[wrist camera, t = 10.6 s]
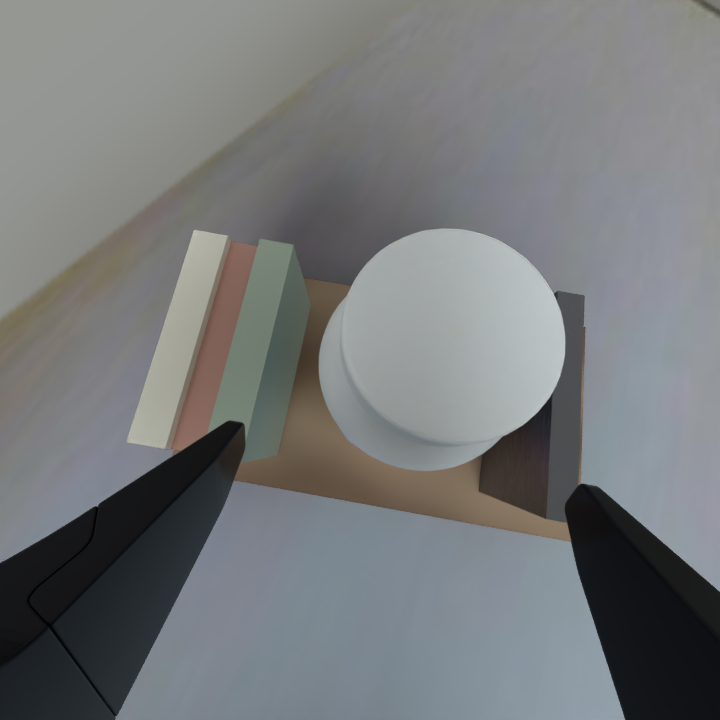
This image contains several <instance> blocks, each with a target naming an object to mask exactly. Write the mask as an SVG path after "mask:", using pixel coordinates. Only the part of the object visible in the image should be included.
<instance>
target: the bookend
mask: <svg viewBox="0 0 720 720" xmlns="http://www.w3.org/2000/svg"><path fill="white" fill-rule="evenodd" d="M554 296H555V298H556V300H557V303H558V305H559V308H560V311H561V315H562V318H563V324H564V331H565V357H564V363H563V367H562V371H561V375H560V378H559V380H558V382H557V385H556V387H555V389H554V391H553V392H552V394H551V396H550V398H549V399H548V400H547V402H546V403H545V404H544V405H543V407H542V408H541V409H540V410H539V412H538V413H537V414H535V415H534V416H533V417H532V418H531V419H530V420H529V421H528V422H526V423H525V424H524V425H522V426H521V427H519V428H518V429H516V430H514V431H512V432H511V433H509V434H507V435H505V436H502V437H501V439H500V440H499V441H498V442H497V443H496V444H494V445H493V446H492V447H491V448H490V449H488V450H487V451H486V452H484V453H483V454H482V459H481V470H480V481H479V491H478V492H481V493H483V494H486V495H488V496H491V497H493V498H495V499H498V500H500V501H503V502H505V503H508V504H510V505H513V506H515V507H517V508H520V509H522V510H525V511H527V512H530V513H532V514H535V515H537V516H540V517H542V518H544V519H548V520H553V521H559V522H564V523H567V520H566V515H565V503H566V501H567V500H568V498H569V497H570V496H571V494H572V493H573V491H574V490H575V489H576V487H577V486H578V483H579V451H580V420H581V389H582V357H583V326H584V296H583V295H578V294H572V293H566V292H561V291H557V292H556V293H554Z"/></svg>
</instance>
